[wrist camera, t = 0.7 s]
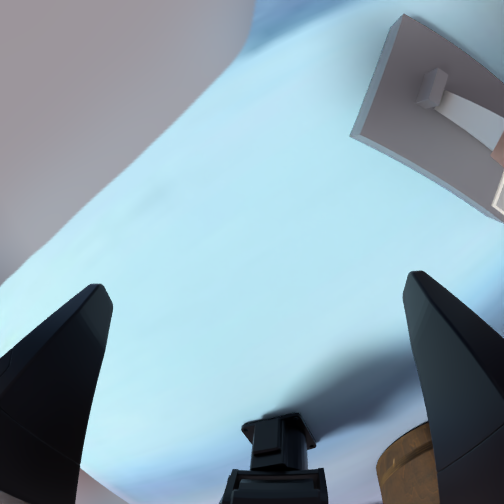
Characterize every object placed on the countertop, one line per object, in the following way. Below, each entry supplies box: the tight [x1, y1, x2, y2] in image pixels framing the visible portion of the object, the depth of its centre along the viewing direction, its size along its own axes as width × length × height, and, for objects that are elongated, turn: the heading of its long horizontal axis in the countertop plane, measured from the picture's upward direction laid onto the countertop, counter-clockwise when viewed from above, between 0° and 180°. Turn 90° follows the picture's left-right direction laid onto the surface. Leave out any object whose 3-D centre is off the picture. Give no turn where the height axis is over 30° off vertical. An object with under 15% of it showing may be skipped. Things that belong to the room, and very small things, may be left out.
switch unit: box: [349, 14, 504, 223], centre depth 17 cm, size 10×14×5 cm
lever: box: [435, 90, 504, 167], centre depth 12 cm, size 2×6×10 cm, turn 69°
